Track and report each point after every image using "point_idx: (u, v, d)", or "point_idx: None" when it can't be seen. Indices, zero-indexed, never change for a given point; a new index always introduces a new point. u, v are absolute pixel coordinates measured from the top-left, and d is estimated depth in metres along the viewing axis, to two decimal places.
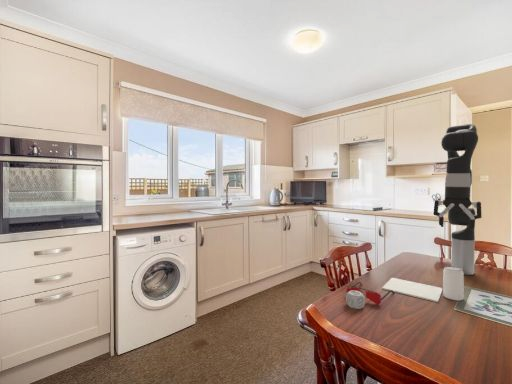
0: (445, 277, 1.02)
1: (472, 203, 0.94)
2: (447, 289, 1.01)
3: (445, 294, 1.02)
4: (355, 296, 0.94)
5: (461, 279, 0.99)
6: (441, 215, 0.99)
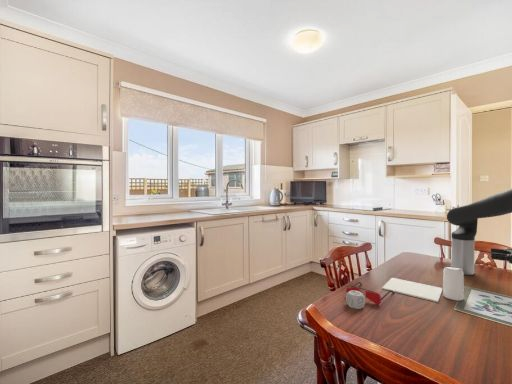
0: (445, 277, 1.02)
1: None
2: (447, 289, 1.01)
3: (445, 294, 1.02)
4: (355, 296, 0.94)
5: (461, 279, 0.99)
6: None
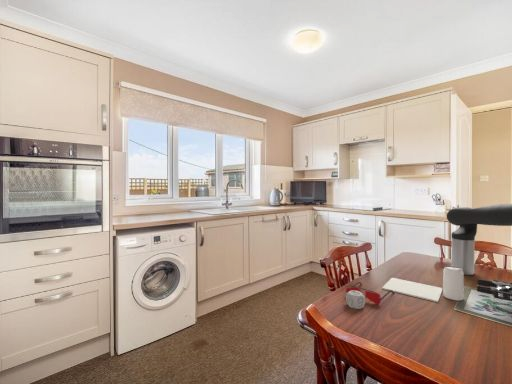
0: (445, 277, 1.02)
1: None
2: (447, 289, 1.01)
3: (445, 294, 1.02)
4: (355, 296, 0.94)
5: (461, 279, 0.99)
6: None
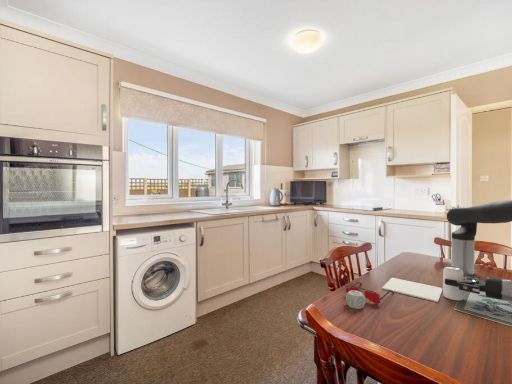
0: (445, 277, 1.02)
1: None
2: (447, 289, 1.01)
3: (445, 294, 1.02)
4: (355, 296, 0.94)
5: (461, 279, 0.99)
6: None
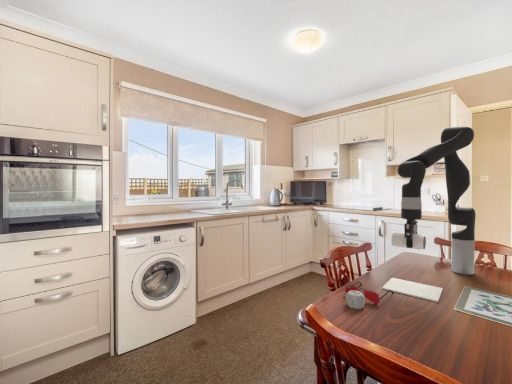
0: None
1: (407, 224, 1.07)
2: None
3: None
4: (355, 296, 0.94)
5: None
6: None
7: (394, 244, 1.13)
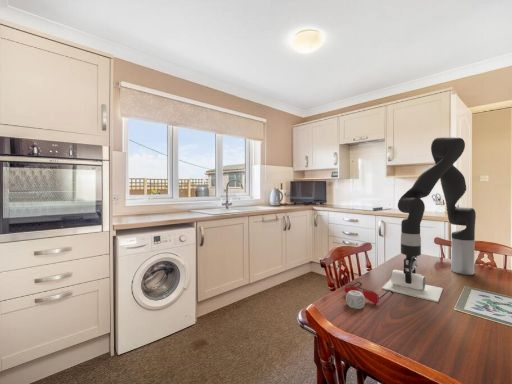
0: None
1: (407, 260, 1.08)
2: None
3: None
4: (355, 296, 0.94)
5: None
6: None
7: (394, 283, 1.13)
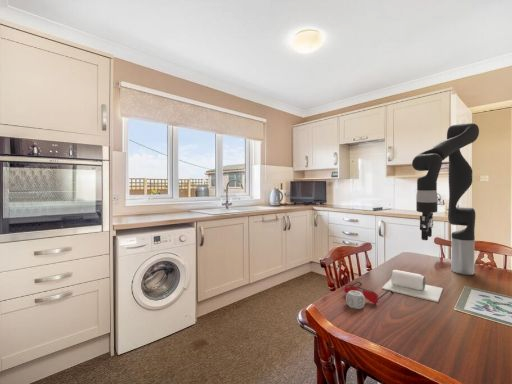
0: None
1: None
2: None
3: None
4: (355, 296, 0.94)
5: None
6: None
7: (394, 283, 1.13)
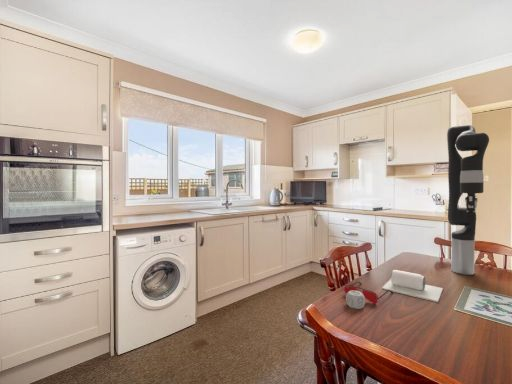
0: None
1: None
2: None
3: None
4: (355, 296, 0.94)
5: None
6: None
7: (394, 283, 1.13)
